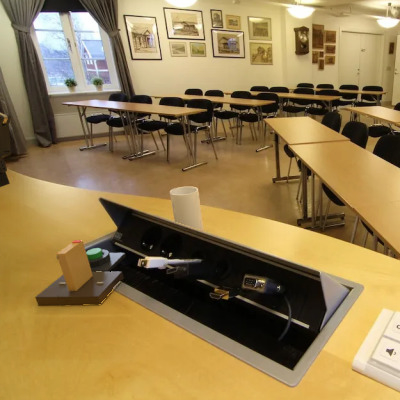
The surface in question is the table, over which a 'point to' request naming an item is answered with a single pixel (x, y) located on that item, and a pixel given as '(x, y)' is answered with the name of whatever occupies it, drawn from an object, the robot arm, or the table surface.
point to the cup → (187, 206)
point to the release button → (94, 253)
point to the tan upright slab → (75, 265)
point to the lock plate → (80, 290)
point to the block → (106, 261)
